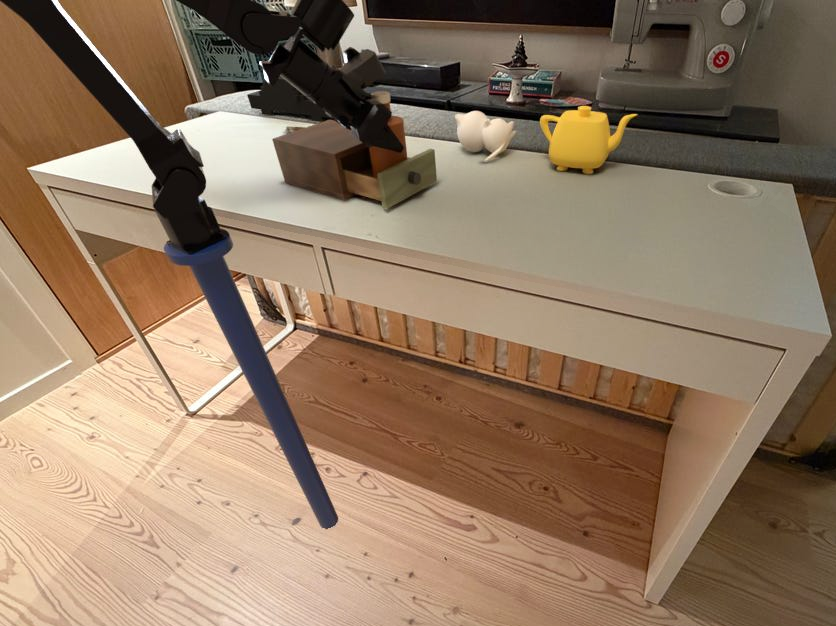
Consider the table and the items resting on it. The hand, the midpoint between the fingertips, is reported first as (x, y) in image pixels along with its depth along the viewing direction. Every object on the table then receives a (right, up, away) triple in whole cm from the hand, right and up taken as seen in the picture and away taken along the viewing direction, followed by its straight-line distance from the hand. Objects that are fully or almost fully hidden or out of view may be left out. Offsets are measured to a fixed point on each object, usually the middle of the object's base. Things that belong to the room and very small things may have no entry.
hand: (395, 144), depth 80 cm
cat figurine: (+15, +7, +19) cm, 25 cm away
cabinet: (-12, -2, +9) cm, 16 cm away
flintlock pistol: (-21, +14, +28) cm, 38 cm away
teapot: (+35, +1, +13) cm, 37 cm away
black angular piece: (-32, +29, +45) cm, 63 cm away
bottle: (-1, -5, +4) cm, 6 cm away
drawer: (-3, -6, +4) cm, 8 cm away
